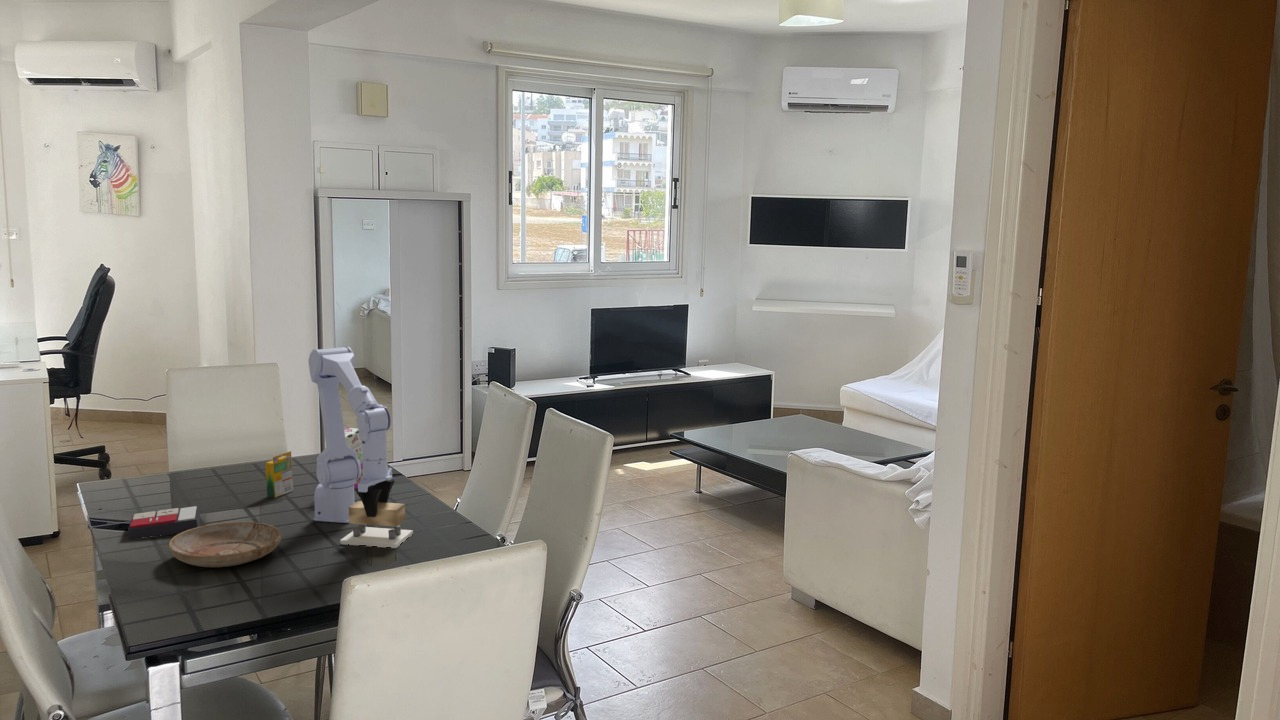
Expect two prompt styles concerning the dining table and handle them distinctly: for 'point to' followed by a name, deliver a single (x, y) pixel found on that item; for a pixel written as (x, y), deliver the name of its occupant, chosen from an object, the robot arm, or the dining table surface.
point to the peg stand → (376, 536)
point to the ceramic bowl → (225, 544)
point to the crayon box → (279, 475)
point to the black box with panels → (164, 522)
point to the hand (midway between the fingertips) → (376, 512)
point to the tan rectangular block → (378, 514)
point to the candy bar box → (354, 448)
